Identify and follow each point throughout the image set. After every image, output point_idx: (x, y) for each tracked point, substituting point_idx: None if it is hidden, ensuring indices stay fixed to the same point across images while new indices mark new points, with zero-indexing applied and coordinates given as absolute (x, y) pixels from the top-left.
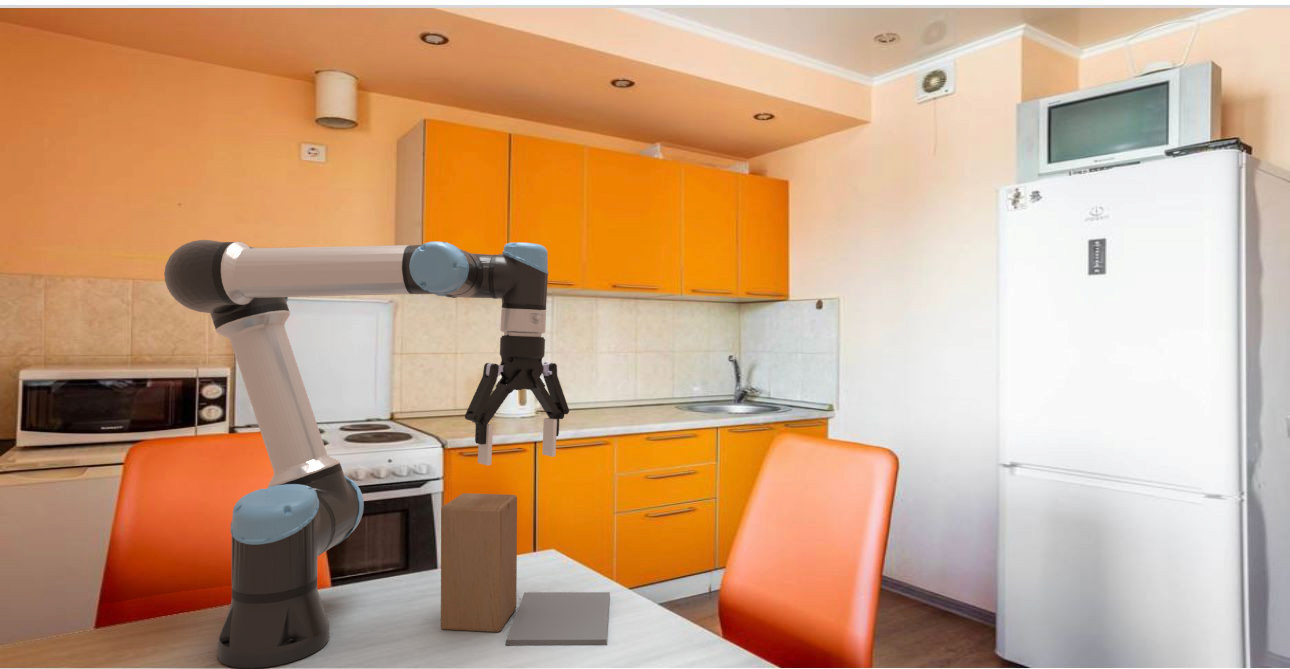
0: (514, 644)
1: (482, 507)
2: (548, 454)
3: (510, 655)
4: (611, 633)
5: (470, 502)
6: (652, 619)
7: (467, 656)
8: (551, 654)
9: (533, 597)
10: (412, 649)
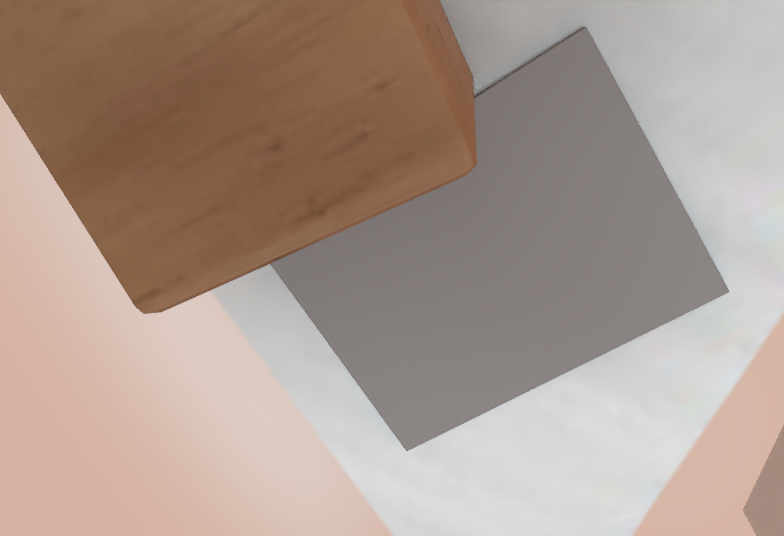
0: None
1: (84, 218)
2: (775, 468)
3: None
4: (473, 421)
5: (108, 58)
6: (612, 468)
7: None
8: (289, 362)
9: (560, 92)
10: None
